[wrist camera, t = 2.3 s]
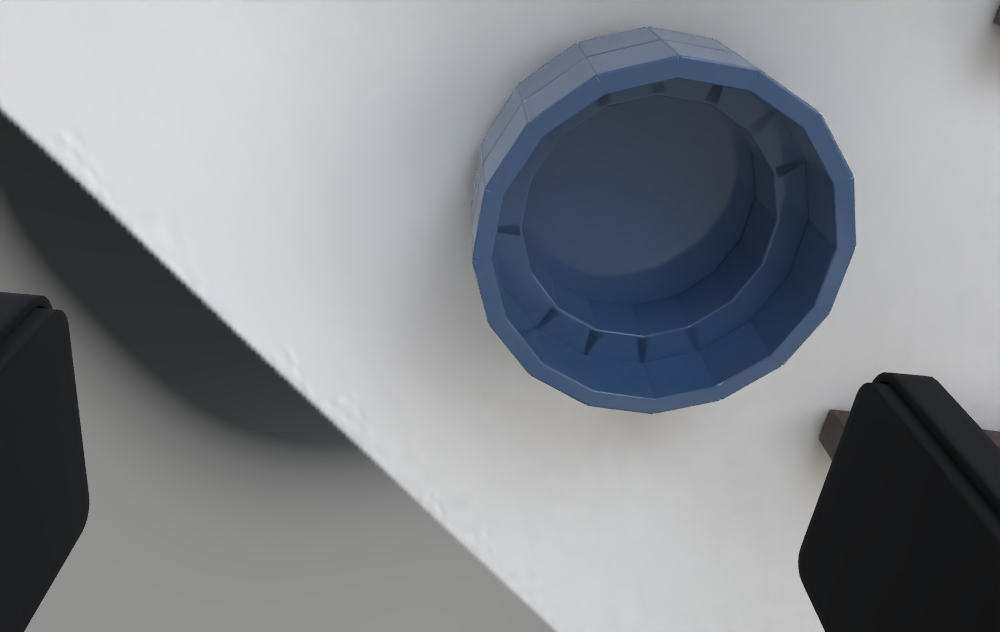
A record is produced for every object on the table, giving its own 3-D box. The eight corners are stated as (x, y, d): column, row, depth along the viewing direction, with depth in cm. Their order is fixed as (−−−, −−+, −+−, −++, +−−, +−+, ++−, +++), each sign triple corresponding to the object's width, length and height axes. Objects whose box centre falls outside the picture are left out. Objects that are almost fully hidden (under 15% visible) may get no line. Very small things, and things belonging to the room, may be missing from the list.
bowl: (451, 313, 32) (449, 388, 27) (504, -2, 27) (512, 25, 22) (739, 353, 33) (783, 431, 29) (842, 59, 28) (915, 97, 24)
